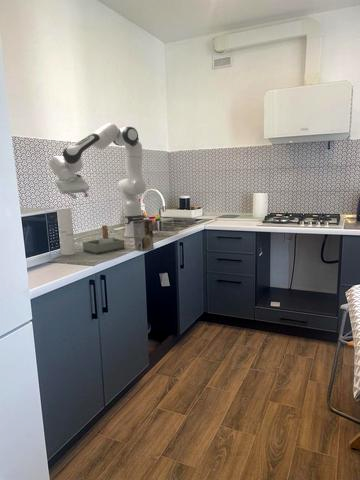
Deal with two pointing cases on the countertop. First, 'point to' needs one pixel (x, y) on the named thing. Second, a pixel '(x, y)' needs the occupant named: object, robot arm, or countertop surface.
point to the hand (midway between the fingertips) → (81, 197)
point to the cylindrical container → (66, 231)
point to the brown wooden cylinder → (105, 232)
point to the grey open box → (103, 245)
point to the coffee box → (143, 235)
